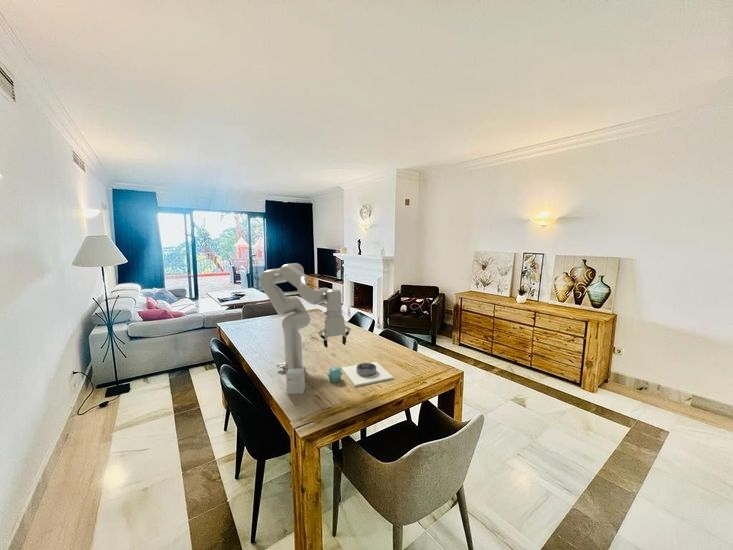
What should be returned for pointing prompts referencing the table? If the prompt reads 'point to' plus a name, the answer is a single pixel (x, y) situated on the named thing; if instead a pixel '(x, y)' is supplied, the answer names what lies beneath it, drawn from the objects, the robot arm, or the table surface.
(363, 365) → the dark grey round dish
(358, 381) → the mount plate
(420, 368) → the table surface
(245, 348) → the table surface
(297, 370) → the small box
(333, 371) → the teal bumpy cylinder
